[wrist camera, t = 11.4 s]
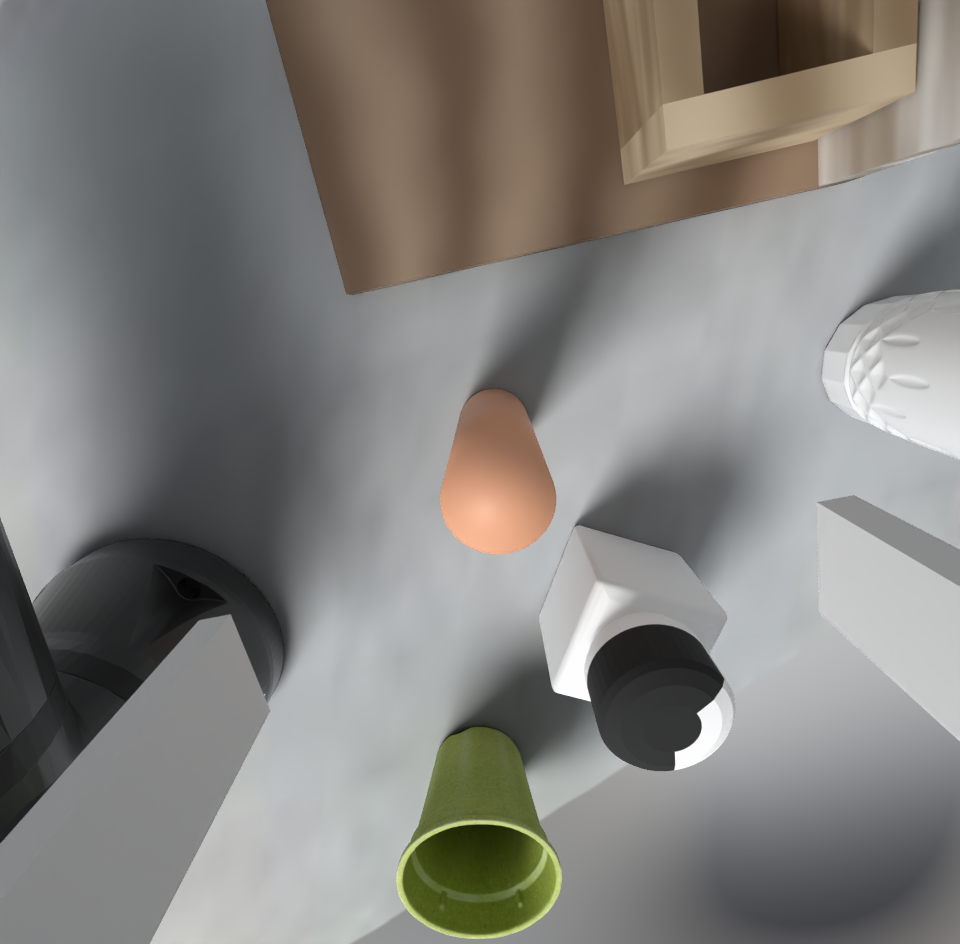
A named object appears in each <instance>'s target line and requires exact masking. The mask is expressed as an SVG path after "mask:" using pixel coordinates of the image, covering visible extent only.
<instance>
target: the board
mask: <svg viewBox="0 0 960 944" xmlns="http://www.w3.org/2000/svg"><path fill="white" fill-rule="evenodd" d="M266 3H267V7H268V11H269V14H270V18H271V21H272V25H273V29H274V32H275V36H276V40H277V43H278V47H279V51H280V54H281V58H282V61H283V65H284V69H285V72H286V76H287V80H288V83H289V87H290V91H291V94H292V98H293V101H294V105H295V109H296V112H297V116H298V120H299V123H300V127H301V131H302V134H303V138H304V141H305V145H306V149H307V152H308V156H309V160H310V163H311V167H312V171H313V174H314V178H315V181H316V185H317V189H318V192H319V196H320V200H321V203H322V207H323V211H324V214H325V218H326V221H327V225H328V229H329V232H330V236H331V240H332V243H333V247H334V251H335V254H336V258H337V261H338V265H339V269H340V272H341V276H342V280H343V283H344V287H345V291H346V294H349V295H355V294H359V293H363V292H368V291H372V290H377V289H381V288H385V287H390V286H394V285H398V284H403V283H407V282H412V281H416V280H420V279H425V278H429V277H434V276H438V275H442V274H447V273H451V272H455V271H460V270H464V269H469V268H473V267H477V266H482V265H486V264H491V263H495V262H499V261H504V260H508V259H512V258H517V257H521V256H526V255H530V254H534V253H539V252H543V251H548V250H552V249H556V248H561V247H565V246H569V245H574V244H578V243H583V242H587V241H591V240H596V239H600V238H605V237H609V236H613V235H618V234H622V233H626V232H631V231H635V230H640V229H644V228H648V227H653V226H657V225H661V224H666V223H670V222H675V221H679V220H683V219H688V218H692V217H697V216H701V215H705V214H710V213H714V212H718V211H723V210H727V209H732V208H736V207H740V206H745V205H749V204H754V203H758V202H762V201H767V200H771V199H775V198H780V197H784V196H789V195H793V194H797V193H802V192H806V191H811V190H815V189H819V188H824V187H828V186H832V185H837V184H841V183H845V182H848V181H851V180H854V179H857V178H860V177H863V176H865V175H868V174H871V173H874V172H877V171H880V170H883V169H886V168H889V167H892V166H895V165H898V164H901V163H904V162H907V161H910V160H913V159H916V158H919V157H922V156H925V155H928V154H931V153H934V152H937V151H940V150H943V149H946V148H949V147H952V146H955V145H958V144H960V0H918V21H917V51H916V81H915V92H913V93H911V94H909V95H907V96H905V97H903V98H901V99H899V100H897V101H895V102H893V103H891V104H889V105H887V106H885V107H883V108H881V109H878V110H876V111H874V112H872V113H870V114H868V115H866V116H864V117H862V118H860V119H858V120H856V121H854V122H852V123H850V124H848V125H846V126H843V127H841V128H839V129H837V130H835V131H833V132H831V133H829V134H827V135H825V136H823V137H821V138H819V139H817V140H815V141H811V142H806V143H802V144H798V145H793V146H789V147H785V148H781V149H776V150H772V151H768V152H764V153H759V154H755V155H751V156H746V157H742V158H738V159H734V160H729V161H725V162H721V163H716V164H712V165H708V166H704V167H699V168H695V169H691V170H686V171H682V172H678V173H674V174H669V175H665V176H661V177H657V178H652V179H648V180H644V181H639V182H635V183H631V184H627V185H624V178H623V170H622V161H621V152H620V144H619V135H618V126H617V118H616V109H615V101H614V92H613V83H612V75H611V66H610V57H609V49H608V40H607V32H606V23H605V14H604V6H603V0H266ZM697 4H698V18H699V32H700V46H701V60H702V74H703V88H704V94H708V93H712V92H716V91H721V90H725V89H729V88H733V87H737V86H741V85H745V84H750V83H754V82H758V81H762V80H766V79H770V78H774V77H778V76H780V69H779V39H778V9H777V0H697Z"/></svg>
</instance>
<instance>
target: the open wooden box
mask: <svg viewBox="0 0 960 944" xmlns="http://www.w3.org/2000/svg"><path fill="white" fill-rule="evenodd" d="M603 6H604V14H605V23H606V32H607V40H608V49H609V57H610V66H611V75H612V83H613V92H614V101H615V109H616V118H617V126H618V135H619V144H620V152H621V161H622V170H623V178H624V185H627V184H631V183H635V182H639V181H644V180H648V179H652V178H657V177H661V176H665V175H669V174H674V173H678V172H682V171H686V170H691V169H695V168H699V167H704V166H708V165H712V164H716V163H721V162H725V161H729V160H734V159H738V158H742V157H746V156H751V155H755V154H759V153H764V152H768V151H772V150H776V149H781V148H785V147H789V146H793V145H798V144H802V143H806V142H811V141H815V140H817V139H819V138H821V137H823V136H825V135H827V134H829V133H831V132H833V131H835V130H837V129H839V128H841V127H843V126H846V125H848V124H850V123H852V122H854V121H856V120H858V119H860V118H862V117H864V116H866V115H868V114H870V113H872V112H874V111H876V110H878V109H881V108H883V107H885V106H887V105H889V104H891V103H893V102H895V101H897V100H899V99H901V98H903V97H905V96H907V95H909V94H911V93H913V92H915V81H916V51H917V21H918V0H777V9H778V39H779V69H780V76H778V77H774V78H770V79H766V80H762V81H758V82H754V83H750V84H745V85H741V86H737V87H733V88H729V89H725V90H721V91H716V92H712V93H708V94H704V88H703V74H702V60H701V46H700V32H699V18H698V4H697V0H603Z"/></svg>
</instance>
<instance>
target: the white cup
mask: <svg viewBox="0 0 960 944" xmlns="http://www.w3.org/2000/svg"><path fill="white" fill-rule="evenodd" d="M821 378H822V381H823V384H824V386H825V389H826V392H827V394H828V397H829V400H830V401H831V402H832V403H833V404H835V405H836V406H837V407H838V408H840V409H841V410H842V411H843V412H845V413H846V414H847V415H849V416H851V417H853V418H856V419H859V420H862V421H864V422H867V423H870V424H872V425H874V426H876V427H878V428H880V429H882V430H884V431H886V432H888V433H890V434H893V435H896V436H899V437H902V438H904V439H906V440H908V441H910V442H912V443H915V444H917V445H920V446H923V447H925V448H928V449H931V450H933V451H936V452H939V453H941V454H944V455H947V456H949V457H952V458H954V459H957V460H960V289H955V290H942V291H935V292H928V293H923V294H917V295H903V296H893V297H889V298H886V299H883V300H879V301H876V302H872V303H869V304H866V305H864V306H862V307H861V308H860V309H859V310H857V311H856V312H855V313H854V314H852V315H851V316H850V317H849V318H847V319H846V320H845V321H844V322H842V323H841V324H840V325H839V327H838V329H837V330H836V332H835V334H834V335H833V337H832V339H831V341H830V342H829V344H828V346H827V347H826V349H825V352H824V360H823V368H822V376H821Z"/></svg>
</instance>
